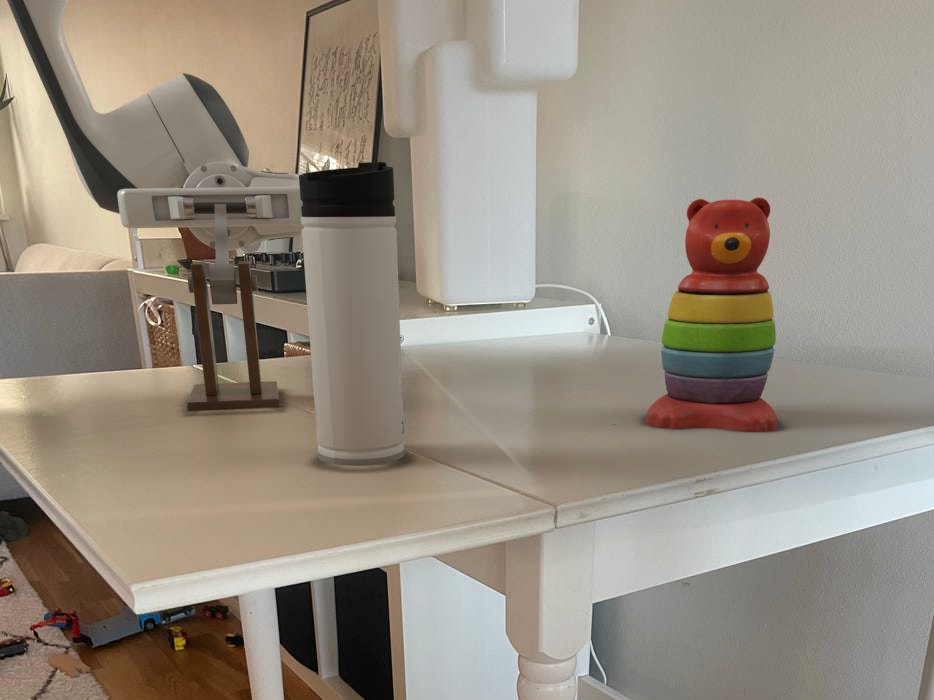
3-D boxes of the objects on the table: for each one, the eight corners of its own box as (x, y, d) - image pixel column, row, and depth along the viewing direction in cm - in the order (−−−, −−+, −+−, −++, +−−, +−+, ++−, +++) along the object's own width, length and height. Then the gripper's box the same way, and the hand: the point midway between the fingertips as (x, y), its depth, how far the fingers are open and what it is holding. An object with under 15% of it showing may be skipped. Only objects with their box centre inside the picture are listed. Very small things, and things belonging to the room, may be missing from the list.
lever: (196, 217, 97) (192, 193, 95) (247, 216, 98) (245, 193, 96) (196, 305, 87) (192, 280, 85) (253, 303, 88) (250, 279, 86)
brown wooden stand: (195, 399, 96) (178, 260, 90) (278, 396, 97) (266, 259, 92) (189, 419, 87) (169, 266, 81) (280, 415, 88) (266, 264, 83)
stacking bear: (643, 431, 81) (659, 197, 74) (651, 408, 90) (665, 198, 83) (777, 436, 79) (806, 196, 72) (771, 413, 88) (797, 197, 81)
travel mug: (424, 460, 72) (415, 161, 64) (370, 480, 67) (354, 157, 59) (357, 450, 75) (341, 163, 67) (301, 468, 70) (276, 160, 62)
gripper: (119, 176, 103) (102, 172, 91) (313, 174, 107) (321, 170, 95) (129, 239, 106) (114, 244, 94) (317, 235, 110) (327, 240, 98)
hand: (220, 207), depth 94 cm, fingers closed on lever, 5 cm apart
